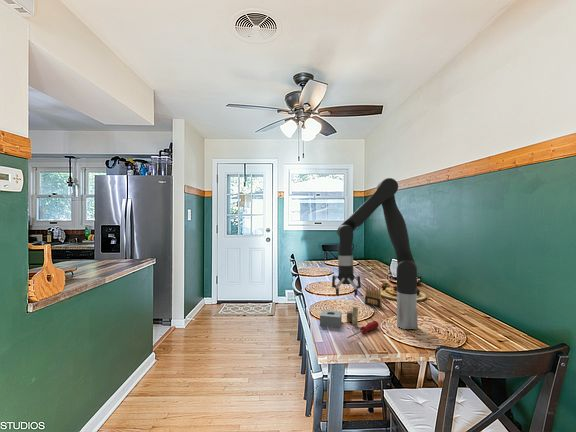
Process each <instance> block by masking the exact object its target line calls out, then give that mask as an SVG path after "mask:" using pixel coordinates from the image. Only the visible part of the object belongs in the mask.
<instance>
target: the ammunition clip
mask: <svg viewBox="0 0 576 432" xmlns="http://www.w3.org/2000/svg"><path fill="white" fill-rule="evenodd" d="M380 289H381V286H380V287H377V286H371V285H366V287H365V297H364V304H365V305H368V306H371V307H372V306H373V307H376V308H382V297H381V290H380ZM378 290H379V292H378Z"/></svg>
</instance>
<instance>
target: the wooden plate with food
mask: <svg viewBox="0 0 576 432" xmlns="http://www.w3.org/2000/svg"><path fill="white" fill-rule="evenodd" d="M390 286H391V284H389V283H388V282H386V281H383V283H382V284H381V286H380V290H381V298H384V299H386V300H391V301H396V302H397V284H395V285H392V286H391V287H390ZM378 292H379V289H378ZM426 300H427V295H426V294H425V293H424V292H421V291H420V289H419V288H418V287H417V303H418V302H419V303H420V302H424V301H426Z"/></svg>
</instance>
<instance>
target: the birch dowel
mask: <svg viewBox="0 0 576 432" xmlns="http://www.w3.org/2000/svg"><path fill="white" fill-rule="evenodd" d="M358 308H359V307H358V306H356V305H355V306H352V309H351V311H352V322H351V324H352V326H354V327H355V326H356V327H357V326H359V325H358V321H359V320H358V318H359V316H358V313H359V312H358V310H359V309H358Z"/></svg>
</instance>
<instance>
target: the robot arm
mask: <svg viewBox="0 0 576 432" xmlns="http://www.w3.org/2000/svg"><path fill="white" fill-rule="evenodd" d="M398 190H399V183H398V182H397V180H396V179H395V178H391V177H387V178H384V179H382V180H381V181H380V182H379V183H378V184H377V186H376V190H375V191H374V193H373V194H372V195H371V196H370V197H369V198H368V199H367V200H365V202H363V203H362V204H361V205H360V206H359V207H358V208H357V209H356V210H355V211H354V212H353V213H352V214H351V215H350V216H349V217H348V218H347V219H346V220H344V221H343V223H341V224H340V225H339V226H338V227H337V230H336V234H337V236H338V237H339V245H338V248H337V249H338V251H337V252H338V258H337V264H338V265H337V266H338V269H337V270H338V271H337V272H338V275H335V274H333V275H332V279H331V287H332V288H334V289H335V295H336V296H337V297H339V296H340V289H339V288H340V286H341V285H351V286H352V288H354V289H353V290H354V293H353V294H354V295H353V296H354V297H355V298H356V297H357V296H358V290H359V289H361V288H362V284H361V276H360V275H355V274H354V257H353V256H354V255H353V243H354V242H353V241H354V231H355V230H356V229H357V228H359V227H361V226H362V225H363V224H364V223H365V222H366V221H367V220H368V219H369V218H370V216H371V215H372V214H373V213H374V212H375V211H376V210H377V209H378V208H379V207H380V205H381V207H382V210H383V215H384V221H385V225H386V229H387V233H388V236H389V237H388V238H389V240H390V242H391V244H392V247H393V248H394V251H395V252H394V253H395V256H396V261H397V265H396V285H397V301H396V327H397V326H398V328H399V327H400V328H399V329H401V328H402V329H401V330H405V329H417V330H418V316H419V315H418V313H419V312H418V311H419V310H418V309H417V308H418V307H417V305H418V302H417V288H418V267H417V265H416V262H415V259H414V256H413V254H412V250H411V247H410V240H409V239H410V238H409V233H408V232H409V231H408V228H407V224H406V221H405V219H404V216H403V214H402V212H401V211H400V209H399V208H398V206H397V200H396V196H395V194H396V193H397V191H398ZM336 280H339V281H338V283H337V284H336ZM354 280H355V281H357V285H356V284H355V282H354Z"/></svg>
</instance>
